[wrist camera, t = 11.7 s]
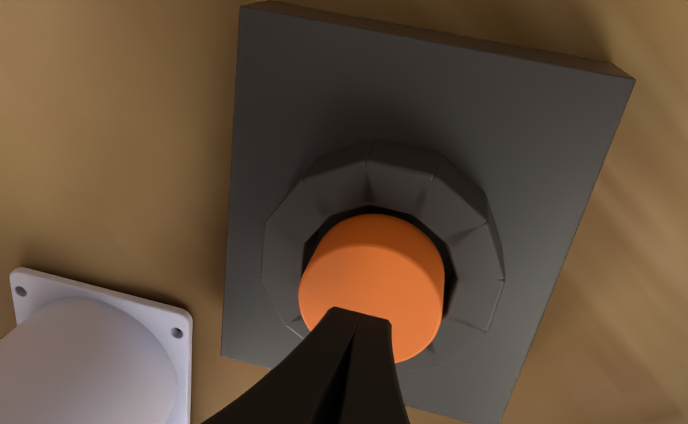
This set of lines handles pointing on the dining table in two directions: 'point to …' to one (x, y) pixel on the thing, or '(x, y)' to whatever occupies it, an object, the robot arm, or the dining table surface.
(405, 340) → the button
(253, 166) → the control block
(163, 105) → the dining table surface
